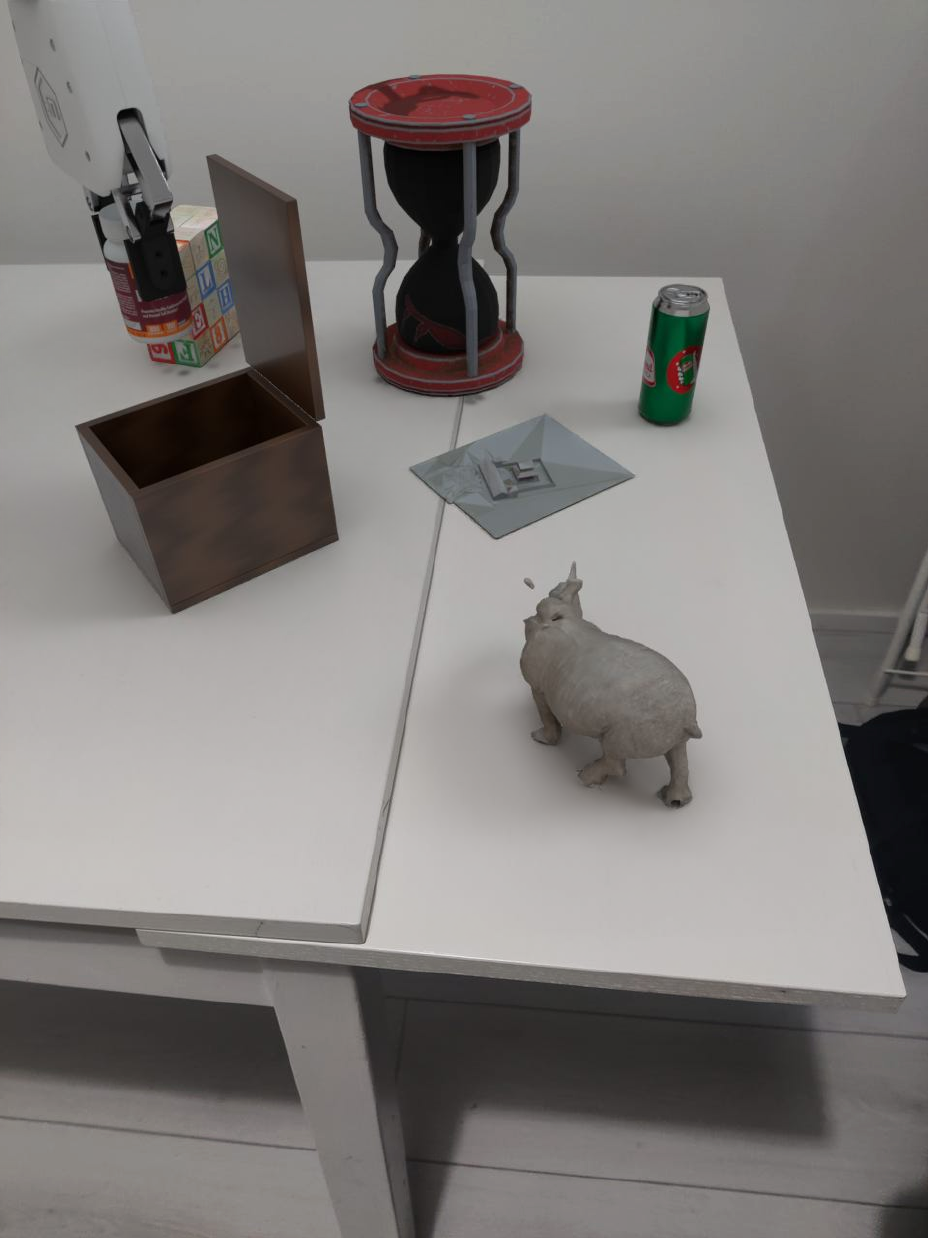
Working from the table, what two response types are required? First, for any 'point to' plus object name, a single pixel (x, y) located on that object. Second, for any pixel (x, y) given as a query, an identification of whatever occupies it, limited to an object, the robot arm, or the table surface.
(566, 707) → the rhinoceros figurine
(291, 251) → the lid
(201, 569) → the chest
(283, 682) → the table surface
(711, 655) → the table surface
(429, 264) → the hourglass
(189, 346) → the stack of blocks
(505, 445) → the grey flat relief plate
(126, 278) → the pill bottle
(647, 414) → the soda can
